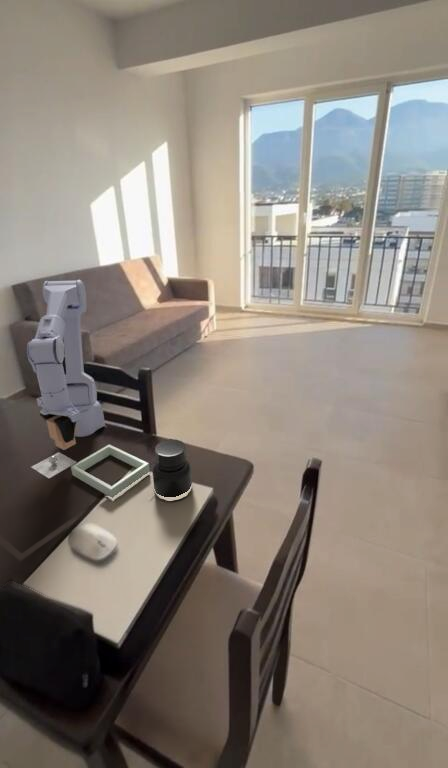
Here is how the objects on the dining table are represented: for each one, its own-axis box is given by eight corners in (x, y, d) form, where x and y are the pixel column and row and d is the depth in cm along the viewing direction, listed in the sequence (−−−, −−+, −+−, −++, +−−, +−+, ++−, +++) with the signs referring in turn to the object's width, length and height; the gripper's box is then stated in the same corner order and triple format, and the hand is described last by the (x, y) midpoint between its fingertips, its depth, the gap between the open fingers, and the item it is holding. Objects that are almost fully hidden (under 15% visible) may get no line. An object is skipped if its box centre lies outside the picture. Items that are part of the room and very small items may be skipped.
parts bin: (110, 455, 105) (109, 444, 103) (150, 474, 97) (148, 463, 96) (73, 478, 96) (70, 466, 95) (113, 501, 88) (111, 489, 87)
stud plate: (59, 455, 105) (57, 444, 104) (77, 465, 101) (75, 454, 99) (31, 470, 99) (28, 458, 98) (49, 481, 95) (46, 470, 94)
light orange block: (52, 447, 95) (46, 419, 92) (70, 437, 99) (65, 411, 96) (60, 451, 94) (54, 423, 90) (79, 442, 97) (73, 414, 94)
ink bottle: (192, 475, 97) (189, 434, 92) (195, 499, 89) (193, 456, 84) (152, 480, 95) (148, 438, 90) (152, 505, 87) (147, 461, 82)
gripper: (20, 386, 91) (32, 436, 96) (56, 403, 83) (68, 455, 89) (47, 376, 96) (58, 424, 102) (84, 391, 88) (93, 441, 94)
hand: (64, 438), depth 96 cm, fingers closed on light orange block, 3 cm apart
